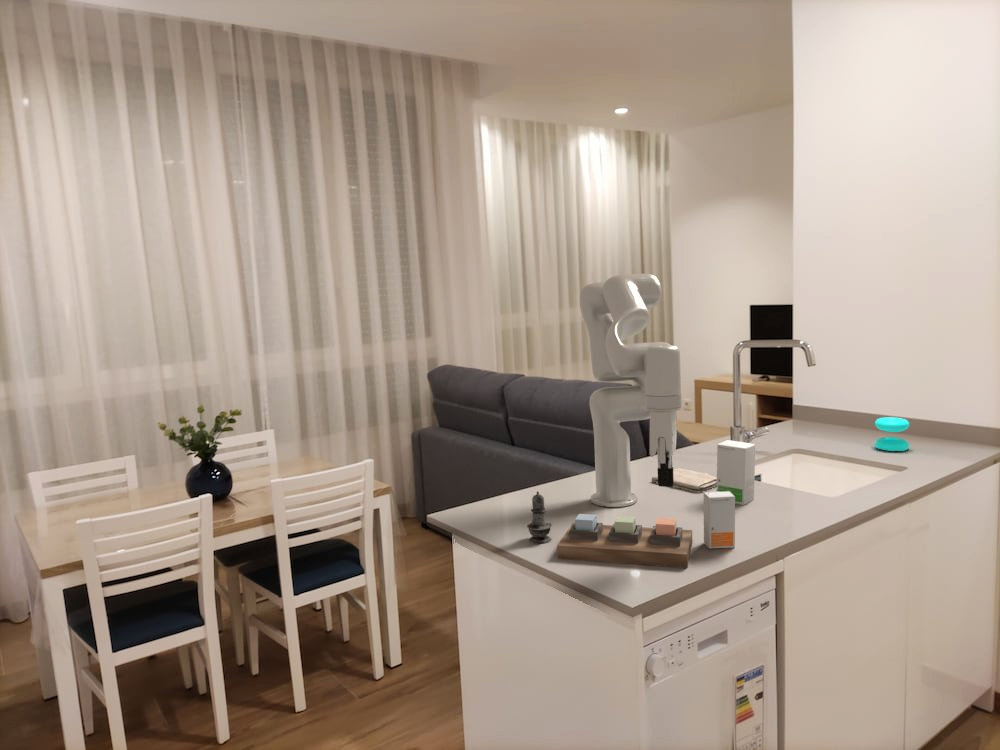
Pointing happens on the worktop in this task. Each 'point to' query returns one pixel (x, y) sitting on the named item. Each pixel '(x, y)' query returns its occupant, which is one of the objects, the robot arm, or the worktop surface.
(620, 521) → the green button
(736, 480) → the skincare box
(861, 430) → the worktop surface
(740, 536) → the worktop surface
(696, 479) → the washcloth
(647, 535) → the console
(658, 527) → the terracotta button
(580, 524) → the blue button
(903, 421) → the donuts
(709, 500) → the skincare box
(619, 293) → the robot arm
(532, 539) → the dark grey figurine
